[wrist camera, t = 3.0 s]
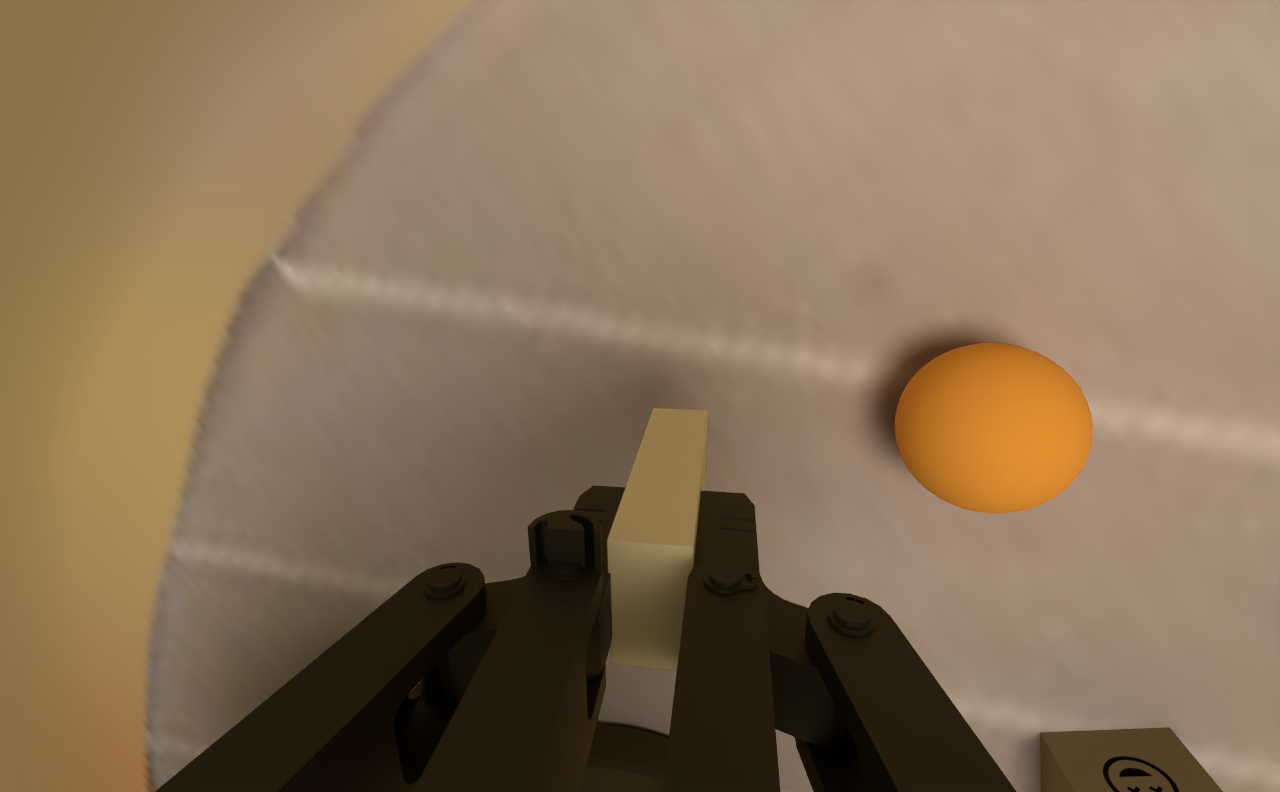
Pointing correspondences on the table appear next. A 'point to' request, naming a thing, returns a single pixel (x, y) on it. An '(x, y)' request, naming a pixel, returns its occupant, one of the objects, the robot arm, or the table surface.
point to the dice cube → (1120, 762)
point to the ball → (993, 428)
